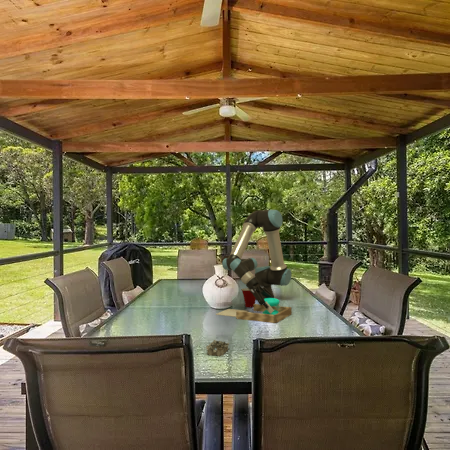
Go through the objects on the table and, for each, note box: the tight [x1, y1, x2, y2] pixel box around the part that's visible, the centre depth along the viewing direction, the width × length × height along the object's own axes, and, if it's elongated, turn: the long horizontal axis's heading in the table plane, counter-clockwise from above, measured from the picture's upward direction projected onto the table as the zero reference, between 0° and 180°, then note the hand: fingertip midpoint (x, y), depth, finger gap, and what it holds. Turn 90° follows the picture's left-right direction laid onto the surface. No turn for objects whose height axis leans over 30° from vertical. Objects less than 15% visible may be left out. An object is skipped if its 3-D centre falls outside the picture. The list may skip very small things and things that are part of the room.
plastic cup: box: [241, 287, 257, 308], centre depth 252 cm, size 11×11×12 cm
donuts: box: [261, 297, 280, 315], centre depth 222 cm, size 10×10×10 cm
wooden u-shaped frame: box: [235, 303, 293, 324], centre depth 224 cm, size 24×24×4 cm
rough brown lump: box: [206, 339, 230, 357], centre depth 162 cm, size 11×8×4 cm
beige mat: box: [215, 308, 249, 318], centre depth 234 cm, size 14×16×1 cm
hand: (275, 310), depth 221 cm, fingers closed on donuts, 10 cm apart
